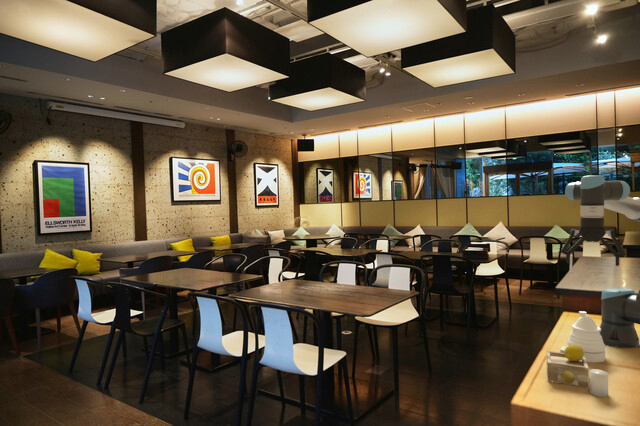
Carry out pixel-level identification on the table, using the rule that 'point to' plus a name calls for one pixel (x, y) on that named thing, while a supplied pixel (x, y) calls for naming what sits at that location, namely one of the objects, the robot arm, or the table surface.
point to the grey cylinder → (598, 383)
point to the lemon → (574, 353)
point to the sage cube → (562, 349)
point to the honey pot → (588, 338)
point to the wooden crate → (566, 370)
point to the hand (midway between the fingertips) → (591, 273)
